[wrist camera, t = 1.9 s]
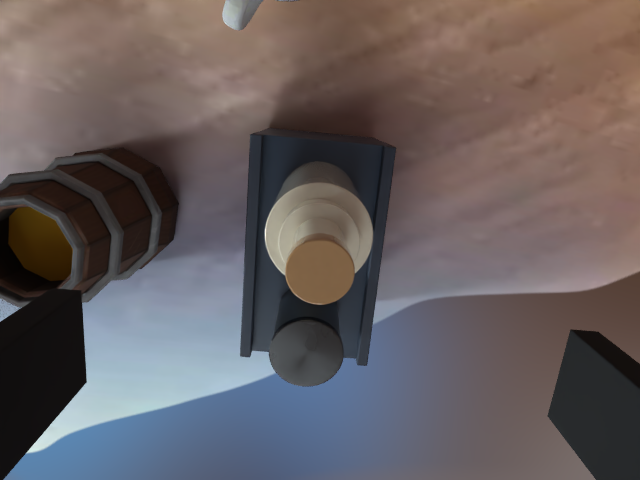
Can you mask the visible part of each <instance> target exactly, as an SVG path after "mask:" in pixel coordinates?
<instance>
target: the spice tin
mask: <svg viewBox="0 0 640 480" xmlns="http://www.w3.org/2000/svg"><path fill="white" fill-rule="evenodd" d="M343 357H344V350H343V343H342V339H341V337H340V328H339V319H338V310H337V304H336V301H335V302H332V303H329V304H323V305H317V304H311V303H308V302H305V301H303V300H301V299H300V298H298V297H297V296H296V295H295V294H294V293H293V292H292V291H291V289H289V290H288V291H287V292H286V293H285V294H284V295H283V297H282V299H281V301H280V304H279V308H278V314H277V319H276V324H275V330H274V335H273V337H272V339H271V343H270V348H269V358H270V362H271V365H272V367H273V369H274V370H275V372H276V373H277V374H278V375H279V376H280V377H281V378H282V379H284V380H285V381H287V382H289V383H291V384H294V385H298V386H315V385H319V384H322V383H324V382H326V381H328V380H329V379H331V378H332V377H333V376H334V375H335V374H336V373H337V371H338V370H339V369H340V366H341V364H342V361H343Z"/></svg>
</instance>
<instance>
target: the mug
mask: <svg viewBox="0 0 640 480" xmlns="http://www.w3.org/2000/svg"><path fill="white" fill-rule="evenodd" d="M177 211H178V201H177V200H176V198H175V196H174V194H173V192H172V190H171V188H170V186H169V185H168V183H167V181H166V179H165V177H164V175H163V173H162V171H161V169H160V168H159V167H157V166H155V165H153V164H152V163H150V162H148V161H146V160H145V159H143V158H141V157H139V156H137V155H136V154H134V153H132V152H130V151H128V150H127V149H125V148H117V149H107V150H97V151H87V152H80V153H75V154H74V155H73V156H66V157H58V158H55V159H54V161H53V162H52V163H51V164H50V165H49V166H48V167H47V168H46V169H45V170H44V171H36V172H27V173H17V174H10V175H8V176H7V177H6V178H5V179H4V180H3V181H2V182H1V183H0V298H1V299H3V300H5V301H7V302H9V303H11V304H13V305H15V306H17V307H24V306H25V305H27V304H28V303H30V302H31V301H33V300H34V299H36V298H37V297H39V296H40V295H42V294H43V293H45V292H46V291H48V290H49V289H51V288H58V289H70V290H81V294H82V303H83V302H89V301H90V300H91V299H92V298H93V297H94V296H95V295H96V294H97V293H99V292H100V291H101V290H102V289H103V288H104V287H105V286H106V285H107V284H108V283H109V282H110V281H113V280H123V279H128V278H129V277H130V276H132V275H133V274H134V273H135V272H136V271H137V270H138V269H142V268H143V267H144V266H145V265H147V264H148V263H149V262H150V261H151V260H152V259H153V258H154V257H155V256H156V255H157V254H158V253H160V252H161V251H162V250H163V249H164V248H165V247H166V246H167V245H168V244H169V243H170V242H171V241H172V240H174V232H175V225H176V218H177Z"/></svg>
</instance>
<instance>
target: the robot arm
mask: <svg viewBox="0 0 640 480" xmlns="http://www.w3.org/2000/svg"><path fill="white" fill-rule="evenodd" d="M86 382H87V381H86V363H85V346H84V328H83V311H82V294H81V290H70V289H58V288H51V289H49V290H48V291H46V292H45V293H43V294H42V295H40V296H39V297H37V298H36V299H34V300H33V301H31V302H30V303H28V304H27V305H25V306H24V307H22V308H21V309H19V310H18V311H16V312H15V313H13V314H12V315H10V316H9V317H7V318H6V319H4V320H2V321H1V322H0V480H3V479H4V478H5V477H6V476H7V475H8V473H9V472H10V471H11V470H12V469H13V468H14V466H15V465H16V464H17V463H18V462H19V460H20V459H21V458H22V457H23V456H24V455H25V454H26V452H27V451H28V450H29V449H30V448H31V447H32V445H33V444H34V443H35V442H36V441H37V440H38V438H39V437H40V436H41V435H42V434H43V433H44V431H45V430H46V429H47V428H48V427H49V425H50V424H51V423H52V422H53V421H54V420H55V418H56V417H57V416H58V415H59V414H60V413H61V411H62V410H63V409H64V408H65V407H66V406H67V404H68V403H69V402H70V401H71V400H72V399H73V397H74V396H75V395H76V394H77V393H78V392H79V390H80V389H81V388H82V387H83V386H84V385H85V383H86ZM548 417H549V418H550V420H551V421H552V423H553V424H554V425H555V426H556V428H557V429H558V430H559V432H560V433H561V434H562V436H563V437H564V438H565V440H566V441H567V442H568V443H569V445H570V446H571V447H572V449H573V450H574V451H575V453H576V454H577V455H578V457H579V458H580V459H581V461H582V462H583V463H584V465H585V466H586V467H587V468H588V470H589V471H590V472H591V474H592V475H593V476H594V478H595V479H596V480H640V364H639V363H638V362H636V361H635V360H634V359H632V358H631V357H630V356H629V355H627V354H626V353H625V352H623V351H622V350H621V349H620V348H618V347H617V346H616V345H615V344H613V343H612V342H611V341H609V340H608V339H607V338H606V337H604V336H603V335H602V334H600V333H599V332H595V331H582V330H570V334H569V338H568V342H567V345H566V349H565V352H564V356H563V360H562V364H561V367H560V371H559V375H558V379H557V383H556V387H555V390H554V394H553V398H552V402H551V405H550V409H549V413H548Z"/></svg>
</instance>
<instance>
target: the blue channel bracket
mask: <svg viewBox="0 0 640 480" xmlns="http://www.w3.org/2000/svg"><path fill="white" fill-rule="evenodd" d="M395 152H396V148H395V147H393V146H391V145H389V144H387V143H384V142H382V141H380V140H378V139H376V138H372V137H361V136H350V135H339V134H328V133H317V132H306V131H295V130H285V129H274V128H267V129H265V130H262V131H259V132H256V133H253V134H251V135H250V153H249V174H248V196H247V217H246V239H245V260H244V282H243V304H242V325H241V347H240V356H242V357H250V356H251V352H252V351H264V352H269V348H270V343H271V339H272V337H273V335H274V330H275V324H276V319H277V314H278V308H279V304H280V301H281V299H282V297H283V295H284V294H285V293H286V292H287V291H288V290H289V289H290V288H289V286H288V284H287V281H286V277H285V275H284V274H283V273H282V272H281V271H280V270H279V269H278V268H277V267H276V266H275V265H274V263H273V261H272V260H271V258H270V256H269V254H268V251H267V248H266V243H265V226H266V222H267V218H268V216H269V213H270V211H271V209H272V207H273V205H274V202H275V200H276V198H277V196H278V194H279V191H280V189H281V187H282V185H283V183H284V181H285V179H286V178H287V176H288V175H289V174H290V173H291V172H292V171H293V170H294V169H296V168H297V167H299V166H301V165H303V164H306V163H309V162H316V161H319V162H327V163H330V164H333V165H335V166H337V167H339V168H340V169H342V170H343V171H344V172H345V173H346V174H347V175H348V176H349V178H350V179H351V181H352V183H353V185H354V186H355V188H356V190H357V192H358V194H359V196H360V198H361V200H362V202H363V204H364V206H365V208H366V210H367V211H368V213H369V216H370V219H371V222H372V227H373V242H372V247H371V250H370V253H369V256H368V258H367V260H366V261H365V263H364V264H363V266H362V267H361V268H360V269H359V270H358V271H357V272H356V273H355V276H354V281H353V284H352V286H351V288H350V289H349V291H348V292H347V293H346V294H345V295H344V296H343V297H342V298H340V299H339V300H337V301H336V304H337V310H338V319H339V328H340V337H341V339H342V343H343V350H344V358H356V361H357V365H364V366H366V365H367V361H368V354H369V346H370V339H371V331H372V324H373V317H374V309H375V302H376V294H377V287H378V279H379V272H380V264H381V257H382V249H383V242H384V234H385V227H386V220H387V212H388V205H389V197H390V190H391V182H392V175H393V167H394V160H395Z"/></svg>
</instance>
